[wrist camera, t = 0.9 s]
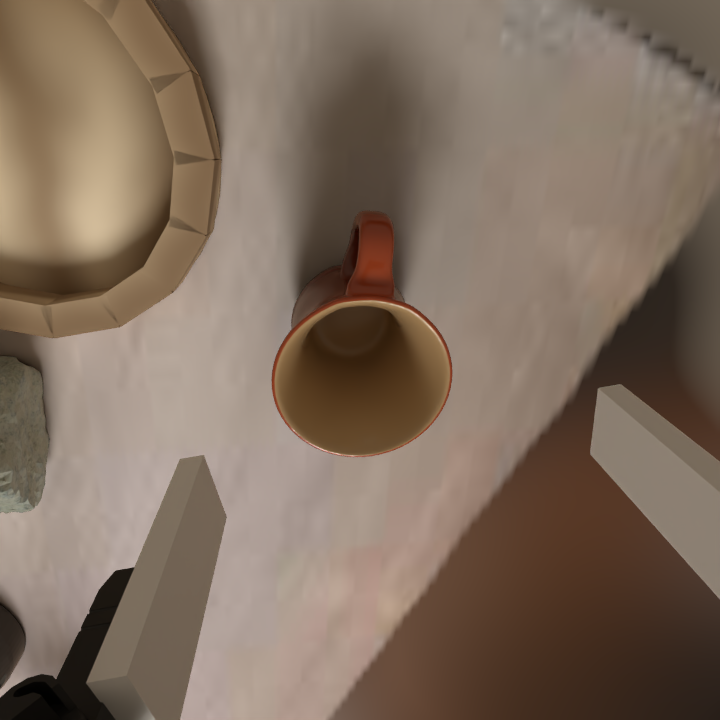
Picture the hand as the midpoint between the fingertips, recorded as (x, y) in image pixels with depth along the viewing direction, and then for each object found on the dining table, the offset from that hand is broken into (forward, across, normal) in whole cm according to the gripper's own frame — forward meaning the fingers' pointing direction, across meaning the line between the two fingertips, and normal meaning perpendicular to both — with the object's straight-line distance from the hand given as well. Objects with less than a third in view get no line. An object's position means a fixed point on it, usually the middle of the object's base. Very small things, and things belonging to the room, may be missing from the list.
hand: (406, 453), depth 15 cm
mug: (+17, 0, +1) cm, 17 cm away
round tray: (+17, -17, +11) cm, 26 cm away
